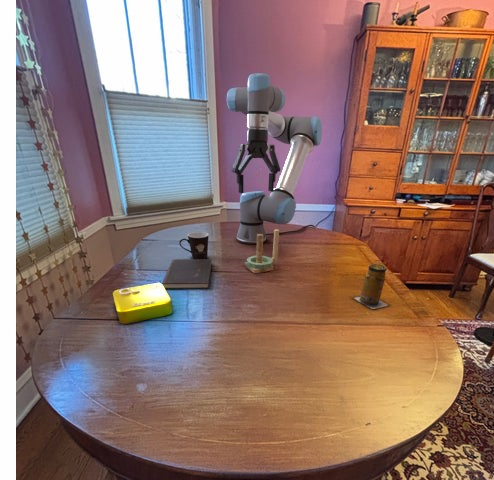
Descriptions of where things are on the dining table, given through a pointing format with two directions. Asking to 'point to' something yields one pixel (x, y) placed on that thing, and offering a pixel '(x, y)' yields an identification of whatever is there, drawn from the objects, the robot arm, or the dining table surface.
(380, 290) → the condiment
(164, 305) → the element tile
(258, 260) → the post
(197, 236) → the coffee mug
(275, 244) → the hoop
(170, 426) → the dining table surface
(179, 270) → the hardcover book
